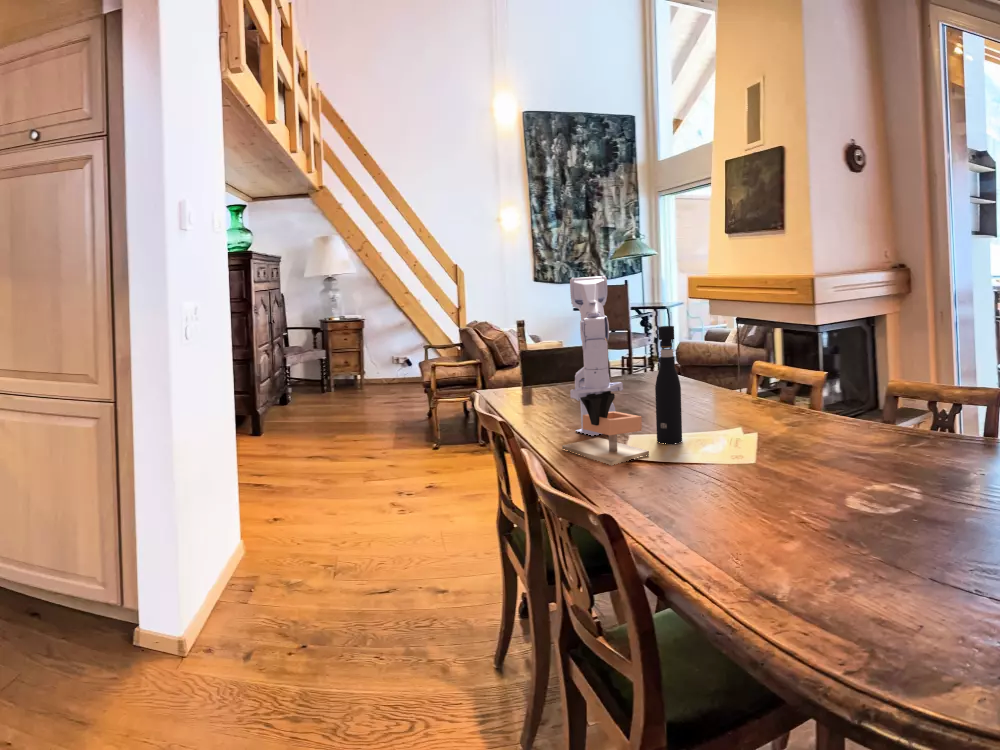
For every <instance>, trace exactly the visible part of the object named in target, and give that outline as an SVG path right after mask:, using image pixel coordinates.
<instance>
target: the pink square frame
mask: <svg viewBox="0 0 1000 750" xmlns="http://www.w3.org/2000/svg"><path fill="white" fill-rule="evenodd" d="M642 421H643V418H642V416H641V415H635V414H630V413H626V412H620V411H616V410H615V411H612V412H608V416H607V418H603V417H599V425H597V426H596V425H592V424H591V421H590V418H589V415H588V414H587V415H583V429H585V430H589V431H593V432H598V433H602V434H601V435H607V436H609V435H615V434H617V435H620V434H629V433H635V432H636V433H637V432H642V428H643V427H642V426H643V425H642V423H643V422H642Z"/></svg>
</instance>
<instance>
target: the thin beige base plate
mask: <svg viewBox="0 0 1000 750" xmlns="http://www.w3.org/2000/svg"><path fill="white" fill-rule="evenodd" d="M562 449H565V450H568V451H571V452H574V453H577V454H580V455H582V456H585V457H588V458H587V459H589V458H591V459H590V460H592V459H594V460H593V461H595V460H597V461H596V462H598V461H600V462H599V463H601V462H603V463H602V464H604V463H606V464H605V465H607V464H609V465H608V466H610V465H611V466H614V464H615V465H618V463H619V464H622V463H621V462H623V463H626V461H627V462H630V461H629V460H631V459H634V458H637V457H640V456H646V455H649V456H650V451H649V450H647V449H643V448H639V447H636V446H633V445H632V446H631V445H628V444H625V443H621V442H618V434H615V435H608V439H606V438H602V437H594V438H589V439H585V440H582V441H577V442H572V443H567V444H563V445H561V450H562ZM582 456H581V457H582ZM585 457H584V458H585ZM646 457H647V456H646ZM634 460H635V459H634ZM631 461H632V460H631Z"/></svg>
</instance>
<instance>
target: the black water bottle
mask: <svg viewBox="0 0 1000 750" xmlns="http://www.w3.org/2000/svg"><path fill="white" fill-rule="evenodd" d="M657 329H658V340H660V341H661V348H662V349H660V351H659V352H660V354H659V355H660V356H659V368H658V373H657V376H656V380H655V386H654V391H655V393H654V395H655V417H656V418H655V420H656V421H655V422H656V423H655V425H656V442H657V441H658V442H660V443H664V444H663V445H667V444H672V445H676V444H675V443H679V442H681V441H682V442H683V427H682V426H683V424H682V423H683V419H682V414H683V413H682V388H681V386H682V385H681V381H680V377H679V374H678V371H677V369H676V364H675V363H676V361H675V359H676V357H675V356H674V355H675V354H674V349H673V342H672V340H675V326H674V325H664V326H663V325H662V326H658V328H657ZM658 442H657V443H658ZM682 442H681V443H682ZM660 443H659V444H660ZM665 443H666V444H665ZM679 444H680V443H679Z"/></svg>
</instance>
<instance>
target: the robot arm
mask: <svg viewBox="0 0 1000 750" xmlns="http://www.w3.org/2000/svg"><path fill="white" fill-rule="evenodd" d="M569 291H570V301H571V305H572V308H575V309H577V310H578V311H579V313H580V319H581V320H580V322H579V328H580V329H579V330H580V340H581V345H582V347H581V348H582V355H583V367H581V368H580V369H579V370H578V371H577V372H575V375H574V389H573V388H572V389H570V390H569V391H570V396H569V397H570V399H574V400H577V402H579V403H580V424H581V428H579V429H576V430H575V431H577V432H576V433H578V432H580V433H579V434H582V433H584V434H583V435H586V434H588V435H587V436H589V435H591V436H590V437H595V436H594V435H596V436H599V434H601V435H603V434H602V433H598V432H593V431H589V430H585V429H583V415H587V414H588V415H589V418H590V421H591V424H592V425H596V426H597V425H599V417H603V418H607V416H608V412H612V411H615V412H616V407H615V404H614V403H613V401H614V400H615V398H616V397H615V395H616V394H615V393H613V392H618V391H619V392H622V391H624V383H623V382H621V381H613V382H611V380H610V373H609V354H608V353H609V351H608V349H609V348H608V341H609V339H610V325H609V324H610V323H609V320H608V316H607V315H605V311H604V310H605V309H604V306H605V305H606V302H607V297H608V278H607V277H606V275H600V276H586V277H585V276H582V277H571V278H570V279H569Z"/></svg>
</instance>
